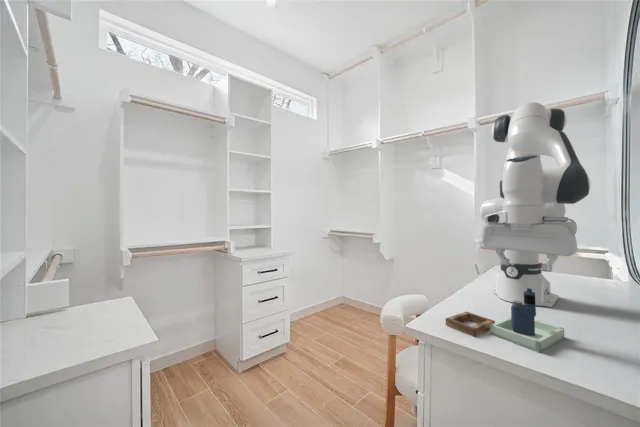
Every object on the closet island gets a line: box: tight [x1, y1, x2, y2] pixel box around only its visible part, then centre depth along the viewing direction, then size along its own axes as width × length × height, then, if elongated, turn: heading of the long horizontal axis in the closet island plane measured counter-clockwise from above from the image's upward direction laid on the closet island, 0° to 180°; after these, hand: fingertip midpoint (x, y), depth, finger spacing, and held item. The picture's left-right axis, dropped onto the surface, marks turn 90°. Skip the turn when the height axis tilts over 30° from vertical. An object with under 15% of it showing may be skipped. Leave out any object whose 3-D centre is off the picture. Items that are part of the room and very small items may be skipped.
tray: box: [489, 316, 565, 354], centre depth 68 cm, size 14×11×2 cm
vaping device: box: [510, 288, 537, 336], centre depth 68 cm, size 3×5×12 cm, turn 57°
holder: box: [445, 311, 496, 337], centre depth 74 cm, size 10×8×2 cm
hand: (524, 267), depth 68 cm, fingers open, 8 cm apart
